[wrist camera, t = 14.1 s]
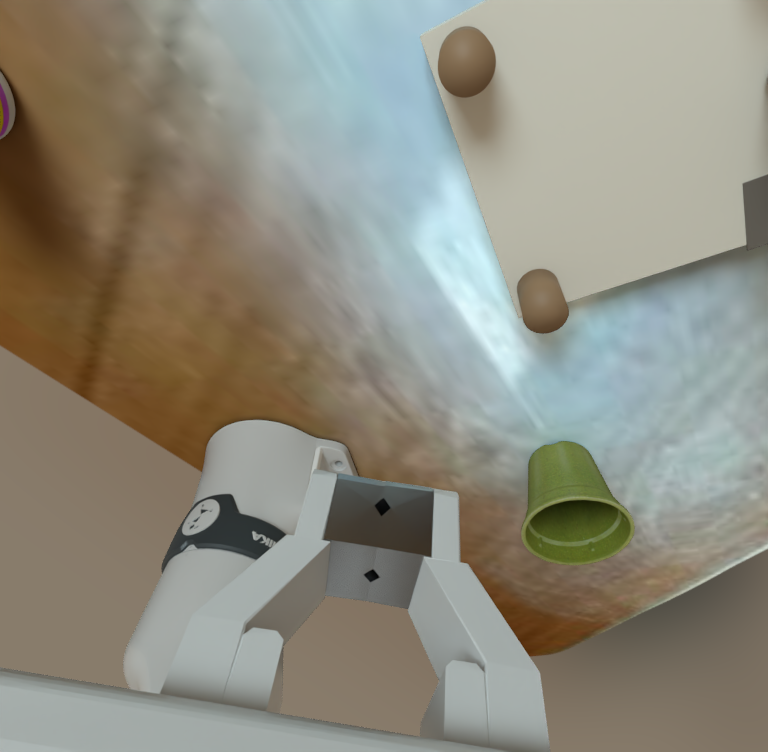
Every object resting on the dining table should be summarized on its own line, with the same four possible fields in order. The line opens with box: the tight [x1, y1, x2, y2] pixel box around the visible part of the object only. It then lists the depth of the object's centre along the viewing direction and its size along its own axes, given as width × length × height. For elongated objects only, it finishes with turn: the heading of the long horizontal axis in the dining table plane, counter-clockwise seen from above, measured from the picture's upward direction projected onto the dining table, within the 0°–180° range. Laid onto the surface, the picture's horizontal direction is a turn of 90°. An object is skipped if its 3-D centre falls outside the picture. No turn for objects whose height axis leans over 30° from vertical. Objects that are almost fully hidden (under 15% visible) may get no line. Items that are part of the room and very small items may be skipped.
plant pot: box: [521, 441, 635, 565], centre depth 49 cm, size 9×9×9 cm
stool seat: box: [420, 0, 768, 333], centre depth 31 cm, size 20×20×6 cm
